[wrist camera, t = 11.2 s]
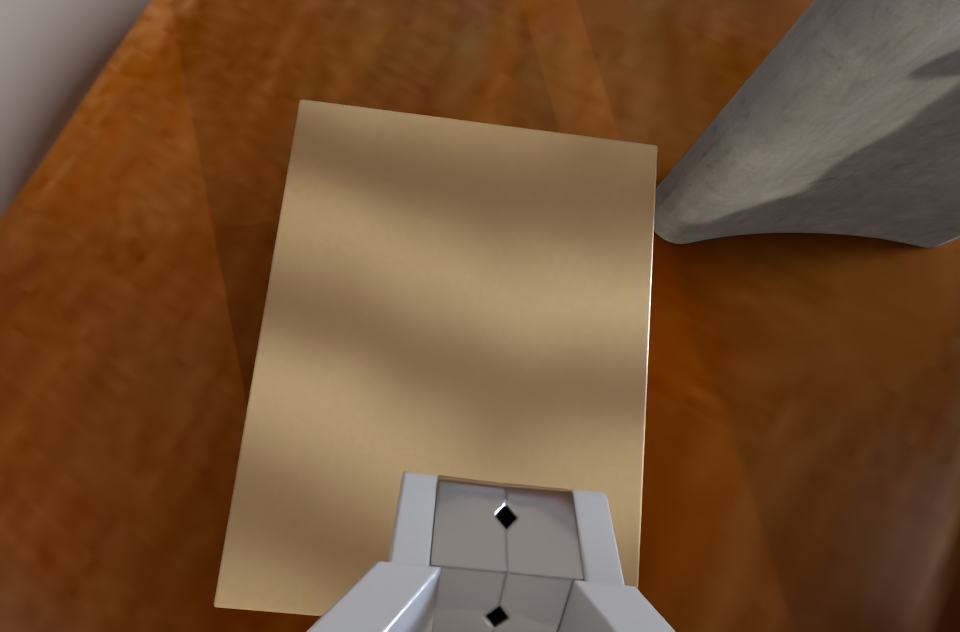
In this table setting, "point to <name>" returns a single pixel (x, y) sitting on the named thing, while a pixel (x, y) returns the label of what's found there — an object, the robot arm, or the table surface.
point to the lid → (438, 338)
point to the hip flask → (834, 133)
